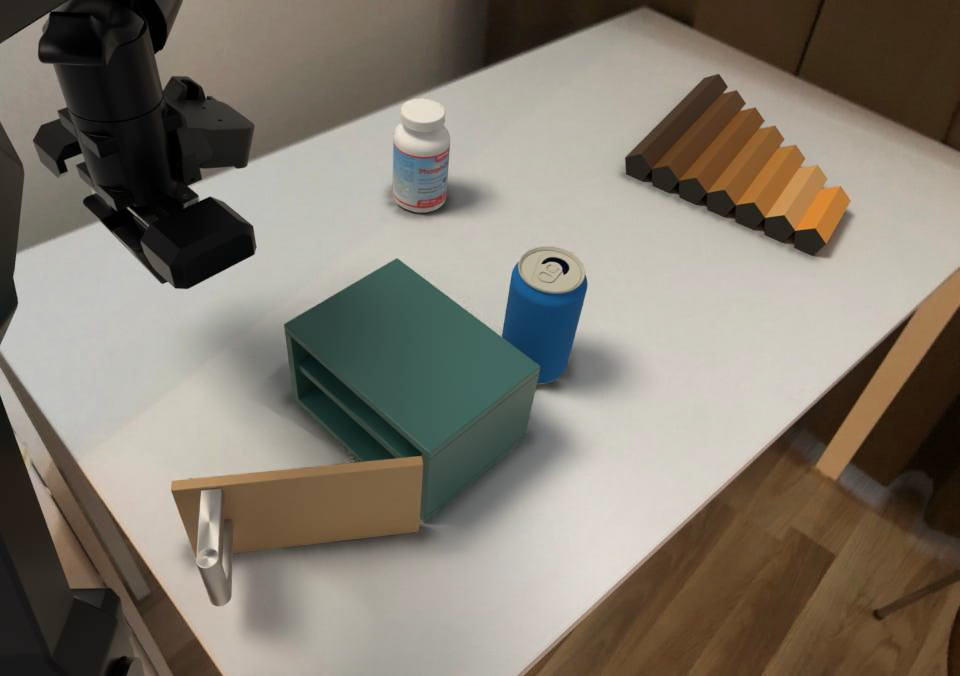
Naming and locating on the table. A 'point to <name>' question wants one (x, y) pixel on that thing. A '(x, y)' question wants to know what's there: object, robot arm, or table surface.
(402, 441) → the green cabinet
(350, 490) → the wooden cabinet door
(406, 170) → the pill bottle
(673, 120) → the pan flute
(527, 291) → the beverage can
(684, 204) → the table surface
